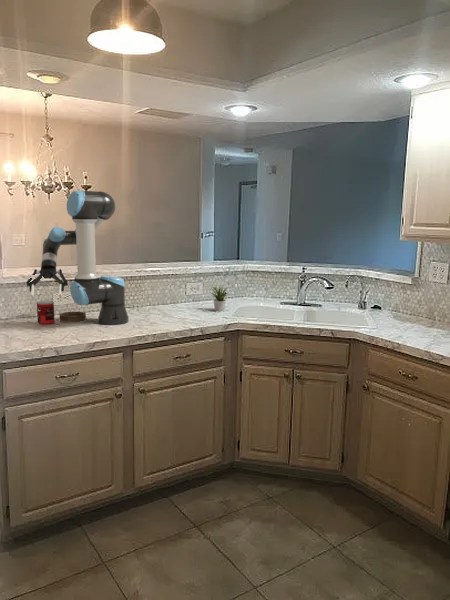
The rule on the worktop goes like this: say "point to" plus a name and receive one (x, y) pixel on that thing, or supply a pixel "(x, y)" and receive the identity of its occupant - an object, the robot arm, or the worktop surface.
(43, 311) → the canned food
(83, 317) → the walnut tray
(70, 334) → the worktop surface
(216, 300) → the house plant
